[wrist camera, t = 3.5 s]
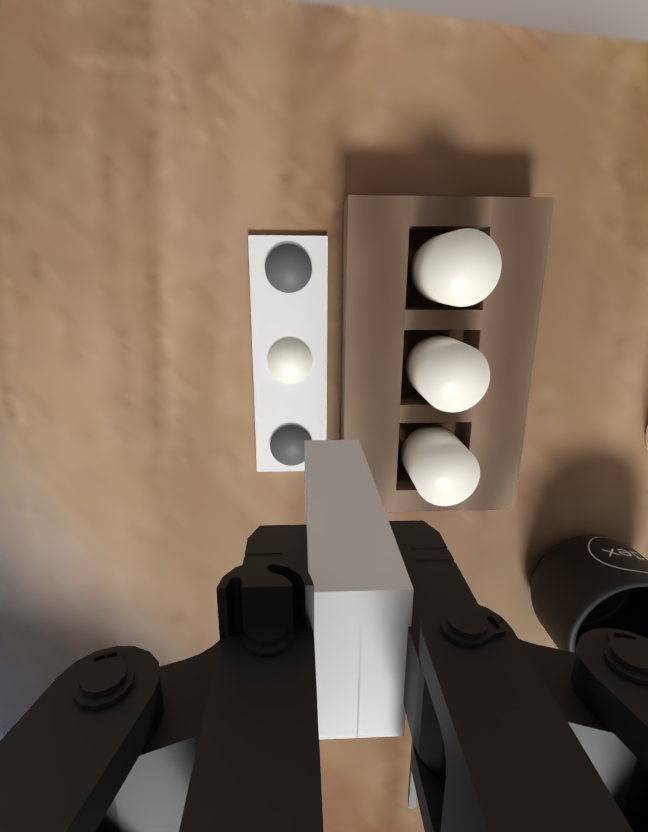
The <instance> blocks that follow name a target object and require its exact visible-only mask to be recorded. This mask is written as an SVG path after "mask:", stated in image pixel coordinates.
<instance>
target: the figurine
mask: <svg viewBox="0 0 648 832" xmlns="http://www.w3.org/2000/svg"><path fill="white" fill-rule="evenodd" d="M645 442H646V447H647V449H648V425H647V428H646V433H645Z"/></svg>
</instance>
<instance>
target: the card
mask: <svg viewBox="0 0 648 832" xmlns="http://www.w3.org/2000/svg"><path fill="white" fill-rule="evenodd" d="M248 245H249V272H250V298H251V325H252V352H253V379H254V406H255V432H256V459H257V472H269V471H305V445H304V440H326V431H327V272H328V236H284V235H248Z"/></svg>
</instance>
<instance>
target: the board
mask: <svg viewBox="0 0 648 832" xmlns="http://www.w3.org/2000/svg"><path fill="white" fill-rule="evenodd" d="M553 204H554V198H550V197H473V196H395V195H348V196H347V198H346V199H345V201H344V207H343V275H342V343H341V411H340V440H359V441H360V444H361V446H362V449H363V452H364V455H365V457H366V460H367V463H368V466H369V468H370V471H371V474H372V477H373V479H374V482H375V485H376V488H377V490H378V493H379V496H380V498H381V501H382V504H383V507H384V509H385V512H412V511H462V510H513V509H515V501H516V493H517V485H518V478H519V470H520V462H521V454H522V446H523V438H524V431H525V423H526V415H527V407H528V399H529V391H530V384H531V376H532V368H533V360H534V352H535V345H536V337H537V329H538V321H539V313H540V305H541V298H542V290H543V282H544V274H545V266H546V258H547V251H548V243H549V235H550V227H551V219H552V212H553ZM466 228H470V229H476V230H479V231H482V232H484V233H485V234H487V235H488V236H489V237H491V238H492V240H493V241H494V242H495V243H496V245H497V247H498V249H499V252H500V255H501V262H502V267H501V274H500V278H499V280H498V283H497V285H496V286H495V288H494V289H493V291H492V292H491V293H490V294H489V295H488V296H487V297H486V298H485V299H483V300H482V301H480V302H478V303H476V304H474V305H471V306H466V307H405V304H406V284H407V265H408V245H409V230H430V231H455V230H459V229H466ZM404 330H464V340H463V343H465V344H468V345H470V346H472V347H474V348H476V349H477V350H479V351H480V352H481V353H482V354H483V355H484V357H485V358H486V360H487V362H488V364H489V368H490V382H489V386H488V389H487V391H486V393H485V394H484V396H483V397H482V398H481V400H480V401H479V402H478V403H476V404H475V405H474V406H472V407H471V408H469V409H467V410H464V411H461V412H444V411H441V410H439V409H437V408H435V407H434V406H432V405H431V404H430V403H429V402H428V401H427V400H426V399H425V398H424V397H423V396H422V395H421V394H401V383H402V363H403V343H404ZM447 422H456V434H455V436H456V437H457V438H458V439H459V440H460V441H461V442H462V443H463V444H464V445H465V447H466V448H467V449H468V450H469V451H470V452H471V453H472V454H473V455H474V456H475V457H476V459H477V461H478V463H479V467H480V479H479V482H478V485H477V487H476V489H475V490H474V492H473V493H472V494H471V495H470V496H469V497H468V498H467V499H465V500H464V501H462V502H460V503H458V504H455V505H451V506H437V505H434V504H431V503H429V502H428V501H426V500H425V499H424V498H422V496H421V495H420V494H419V492H418V491H417V489H416V487H415V485H414V483H413V482H412V480H411V478H410V476H409V474H408V473H397V461H398V442H399V423H447Z"/></svg>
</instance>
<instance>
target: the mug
mask: <svg viewBox="0 0 648 832" xmlns="http://www.w3.org/2000/svg"><path fill="white" fill-rule="evenodd" d="M531 600H532V605H533V608H534V611H535V614H536V616H537V618H538V619H539V621H540V623H541V624H542V626H543V627H544V628H545V630H546V631H547V633H548V634H549V636H550V637H551V639H552V640H553V641H554V643H555V644H556V646H557V647H558V649H560V650H565V651H570V652H576V647H577V644H578V641H579V639H580V637H581V635H582V634H584V633H586V632H588V631H590V630H592V629H599V628H614V629H619V630H624V631H629V632H632V633H635V634H637V635H640V636H642V637H645V638H648V560H646V559H645V558H644V557H643V556H642V555H640V554H639V553H638V552H637V551H635V550H634V549H633V548H631V547H630V546H628V545H626V544H624V543H623V542H621V541H618V540H615V539H612V538H608V537H603V536H593V535H590V536H580V537H575V538H572V539H569V540H566V541H564V542H562V543H560V544H558V545H557V546H555V547H554V548H552V549H551V550H550V551H549V552H548V553H547V554H546V555H545V556H544V557H543V558H542V559H541V561H540V562H539V564H538V565H537V567H536V569H535V571H534V574H533V577H532V581H531Z"/></svg>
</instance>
